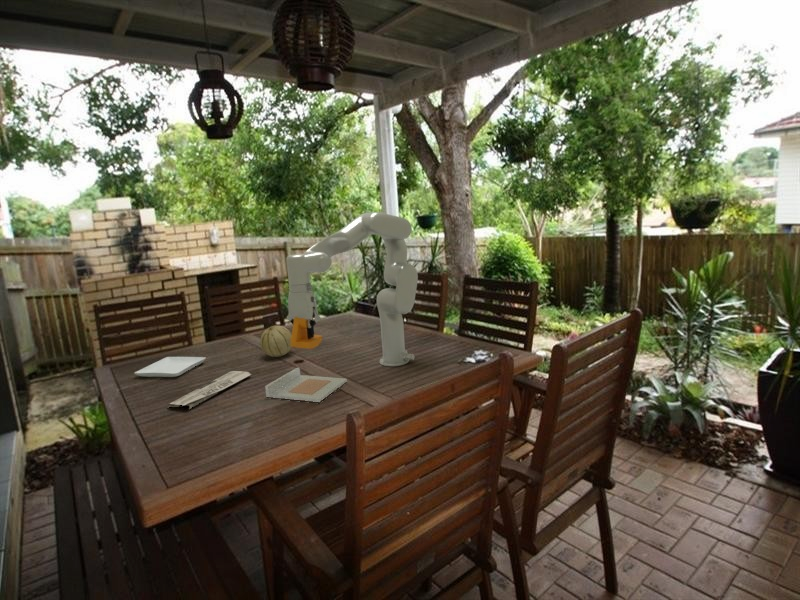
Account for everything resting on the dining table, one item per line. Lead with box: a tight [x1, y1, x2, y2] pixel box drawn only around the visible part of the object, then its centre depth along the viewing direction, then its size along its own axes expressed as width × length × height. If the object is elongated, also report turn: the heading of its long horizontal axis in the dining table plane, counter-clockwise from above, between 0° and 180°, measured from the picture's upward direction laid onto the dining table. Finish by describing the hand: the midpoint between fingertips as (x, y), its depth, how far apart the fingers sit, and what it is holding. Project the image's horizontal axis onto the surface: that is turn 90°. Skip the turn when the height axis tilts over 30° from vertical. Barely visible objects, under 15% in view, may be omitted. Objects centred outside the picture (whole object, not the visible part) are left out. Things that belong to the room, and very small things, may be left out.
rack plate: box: [264, 367, 348, 402], centre depth 168 cm, size 22×20×4 cm
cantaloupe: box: [259, 325, 293, 358], centre depth 212 cm, size 15×15×15 cm
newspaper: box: [166, 370, 253, 410], centre depth 174 cm, size 35×12×4 cm, turn 162°
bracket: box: [291, 317, 323, 350], centre depth 167 cm, size 11×7×12 cm, turn 161°
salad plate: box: [134, 356, 207, 378], centre depth 203 cm, size 21×21×3 cm
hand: (305, 337), depth 168 cm, fingers closed on bracket, 4 cm apart
